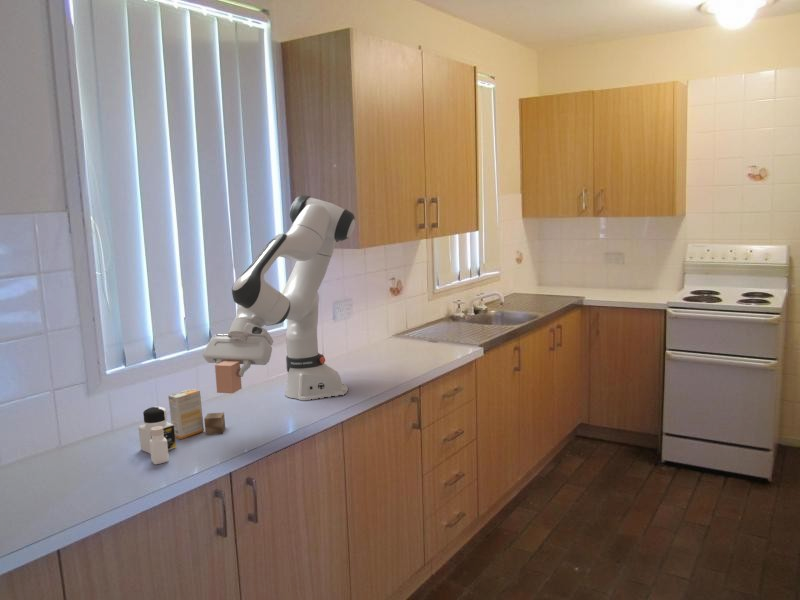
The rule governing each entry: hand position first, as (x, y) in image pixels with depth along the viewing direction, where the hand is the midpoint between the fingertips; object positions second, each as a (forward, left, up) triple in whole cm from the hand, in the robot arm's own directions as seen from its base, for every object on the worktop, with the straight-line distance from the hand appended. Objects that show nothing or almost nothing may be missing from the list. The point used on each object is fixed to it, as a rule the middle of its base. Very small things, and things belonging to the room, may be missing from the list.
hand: (229, 375), depth 186 cm
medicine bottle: (+21, +1, -20) cm, 29 cm away
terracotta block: (0, 0, -4) cm, 4 cm away
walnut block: (+7, -11, -20) cm, 24 cm away
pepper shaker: (+18, +11, -20) cm, 29 cm away
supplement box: (+15, -10, -20) cm, 27 cm away
